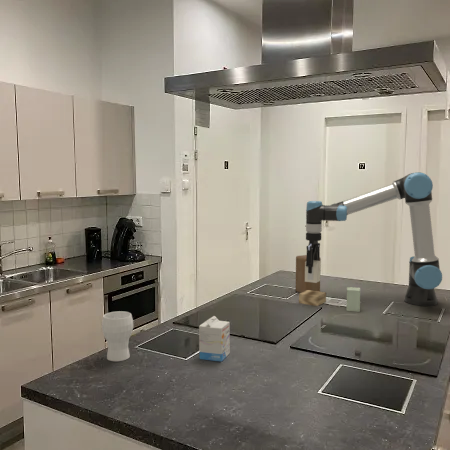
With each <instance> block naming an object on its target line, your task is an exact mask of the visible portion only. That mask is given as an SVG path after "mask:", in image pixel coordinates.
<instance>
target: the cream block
mask: <svg viewBox="0 0 450 450" xmlns="http://www.w3.org/2000/svg"><path fill="white" fill-rule="evenodd" d="M321 263H322V261H316V260H314V261H313V267H314V272H313V280H308V267H307V266H306V262H305V282H313V283H317V282H319V281H320V282H321V271H322V269H321V267H322V266H321V265H322V264H321Z"/></svg>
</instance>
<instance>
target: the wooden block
mask: <svg viewBox="0 0 450 450" xmlns="http://www.w3.org/2000/svg"><path fill="white" fill-rule="evenodd" d="M306 257H307V254H304V255H296V257H295V291H296V292H297V293H299V294H300V293H302V292H304V291H307V290H312V291H319V292H321V280H320V281H319V282H317V283H313V282H305V262H306ZM321 260H322V259H321V258H320V261H321ZM321 262H322V261H321Z"/></svg>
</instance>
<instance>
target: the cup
mask: <svg viewBox="0 0 450 450" xmlns="http://www.w3.org/2000/svg"><path fill="white" fill-rule="evenodd" d="M101 330H102V331H101V332H102V335H103V337H104V338H105V340H106V342H107V353H106V360H108V361H110V362H123V361H125V360H129V358H130V357H131V355H130V350H129V349H130V348H129V340H130V338H131V336H132V333H133V330H134V319H133V315H132V313H131V312H129V311H122V310H121V311H120V310H119V311H111V312H106V313H105V314H103V315H102V320H101Z"/></svg>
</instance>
